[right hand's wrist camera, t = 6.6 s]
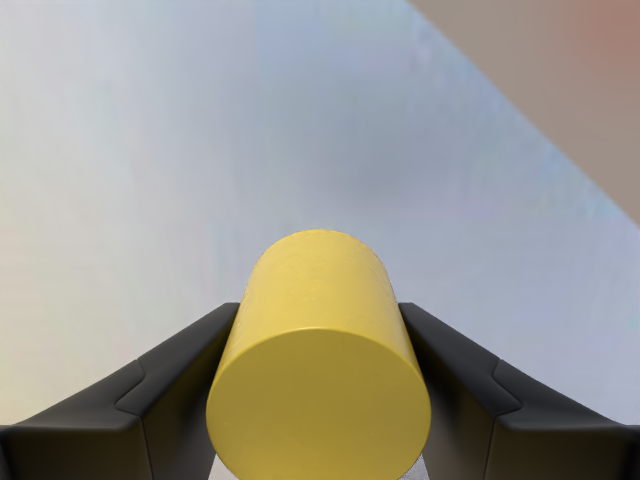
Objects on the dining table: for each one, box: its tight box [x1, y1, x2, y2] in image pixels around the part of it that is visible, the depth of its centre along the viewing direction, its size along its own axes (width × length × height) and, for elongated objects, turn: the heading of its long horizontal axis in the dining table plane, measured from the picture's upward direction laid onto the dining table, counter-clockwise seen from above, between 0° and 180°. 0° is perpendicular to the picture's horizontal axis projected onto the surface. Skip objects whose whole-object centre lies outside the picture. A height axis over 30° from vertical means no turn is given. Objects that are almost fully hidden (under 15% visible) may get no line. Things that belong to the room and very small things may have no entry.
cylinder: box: [206, 229, 432, 480], centre depth 10 cm, size 4×4×5 cm
